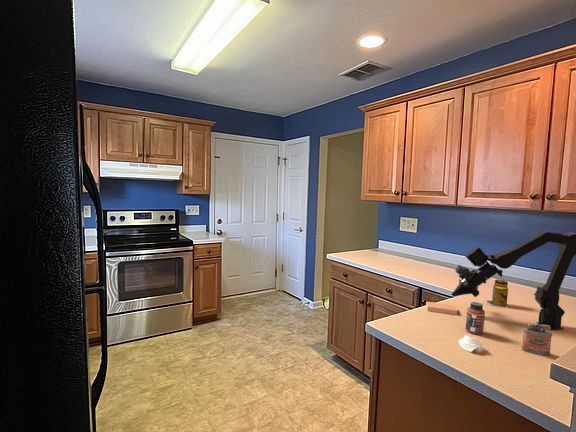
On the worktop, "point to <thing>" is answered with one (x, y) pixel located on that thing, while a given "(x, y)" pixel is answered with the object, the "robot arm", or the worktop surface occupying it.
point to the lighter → (537, 339)
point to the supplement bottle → (475, 318)
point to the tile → (441, 308)
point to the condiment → (499, 294)
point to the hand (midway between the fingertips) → (452, 295)
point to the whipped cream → (470, 343)
